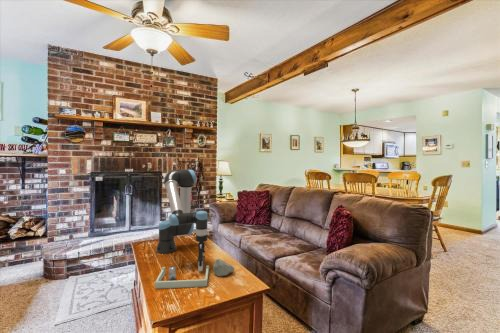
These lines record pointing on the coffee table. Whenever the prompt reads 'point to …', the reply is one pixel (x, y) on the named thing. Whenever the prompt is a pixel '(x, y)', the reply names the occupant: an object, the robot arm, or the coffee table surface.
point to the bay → (180, 281)
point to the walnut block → (203, 262)
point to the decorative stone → (222, 268)
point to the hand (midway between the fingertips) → (201, 266)
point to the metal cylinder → (172, 273)
